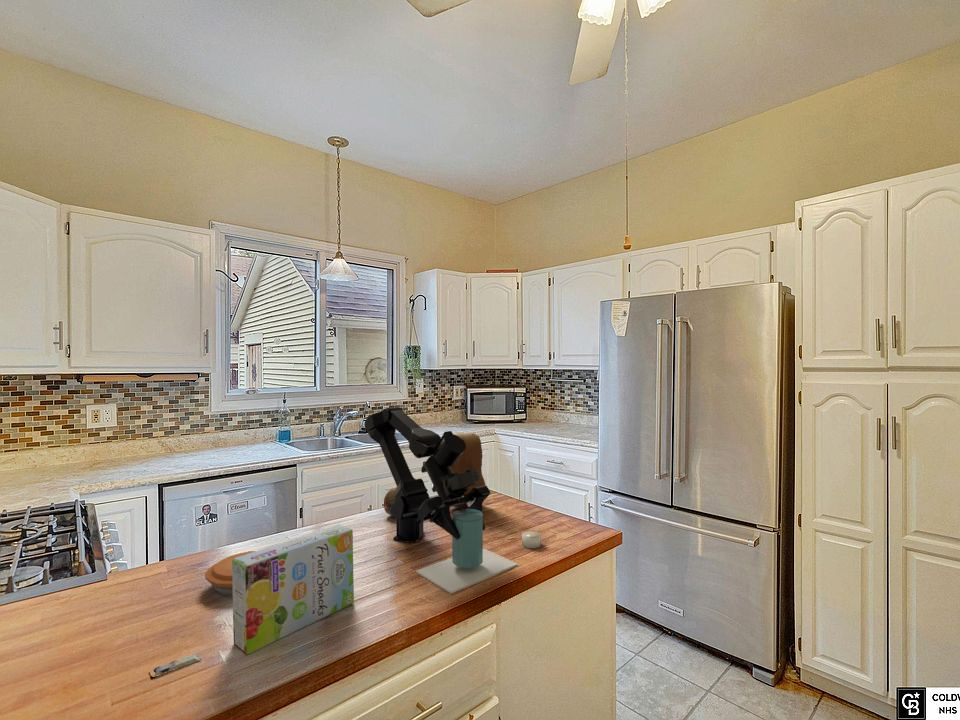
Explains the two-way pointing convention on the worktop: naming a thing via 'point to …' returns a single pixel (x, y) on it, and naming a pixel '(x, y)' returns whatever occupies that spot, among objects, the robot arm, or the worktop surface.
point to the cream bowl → (531, 539)
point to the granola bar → (176, 664)
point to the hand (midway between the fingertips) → (471, 534)
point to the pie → (223, 575)
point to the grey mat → (465, 572)
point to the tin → (389, 500)
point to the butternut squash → (469, 460)
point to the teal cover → (468, 538)
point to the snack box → (291, 586)
